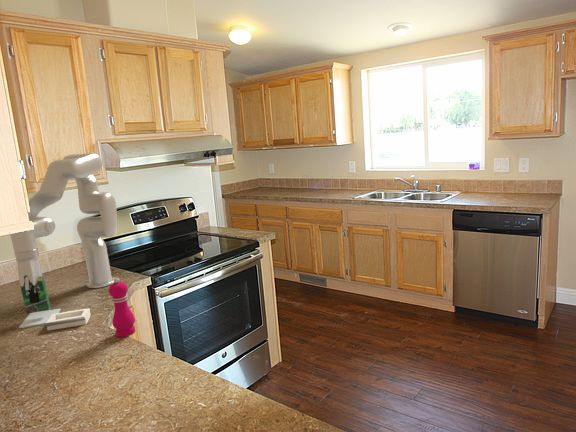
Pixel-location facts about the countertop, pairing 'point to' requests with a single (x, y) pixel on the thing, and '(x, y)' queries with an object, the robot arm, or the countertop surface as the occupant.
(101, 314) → the countertop surface
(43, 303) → the coffee box
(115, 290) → the pepper mill
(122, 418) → the countertop surface
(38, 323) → the tile
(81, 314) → the caddy
